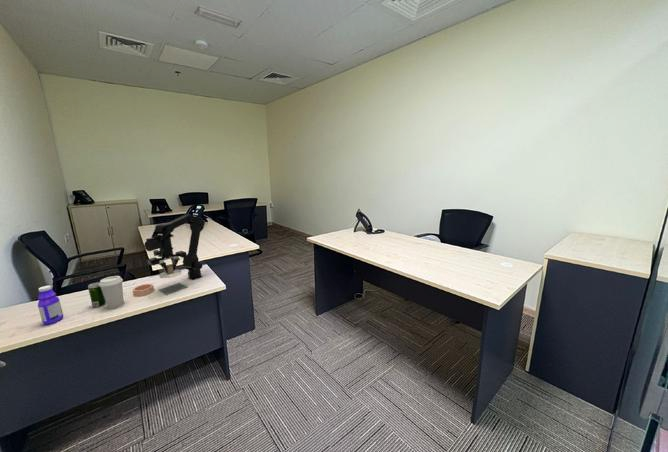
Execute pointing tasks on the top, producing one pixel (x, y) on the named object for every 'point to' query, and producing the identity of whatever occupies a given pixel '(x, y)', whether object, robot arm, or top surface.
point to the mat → (172, 288)
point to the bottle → (49, 305)
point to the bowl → (143, 290)
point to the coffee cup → (112, 291)
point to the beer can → (96, 295)
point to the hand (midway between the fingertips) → (170, 271)
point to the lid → (170, 272)
